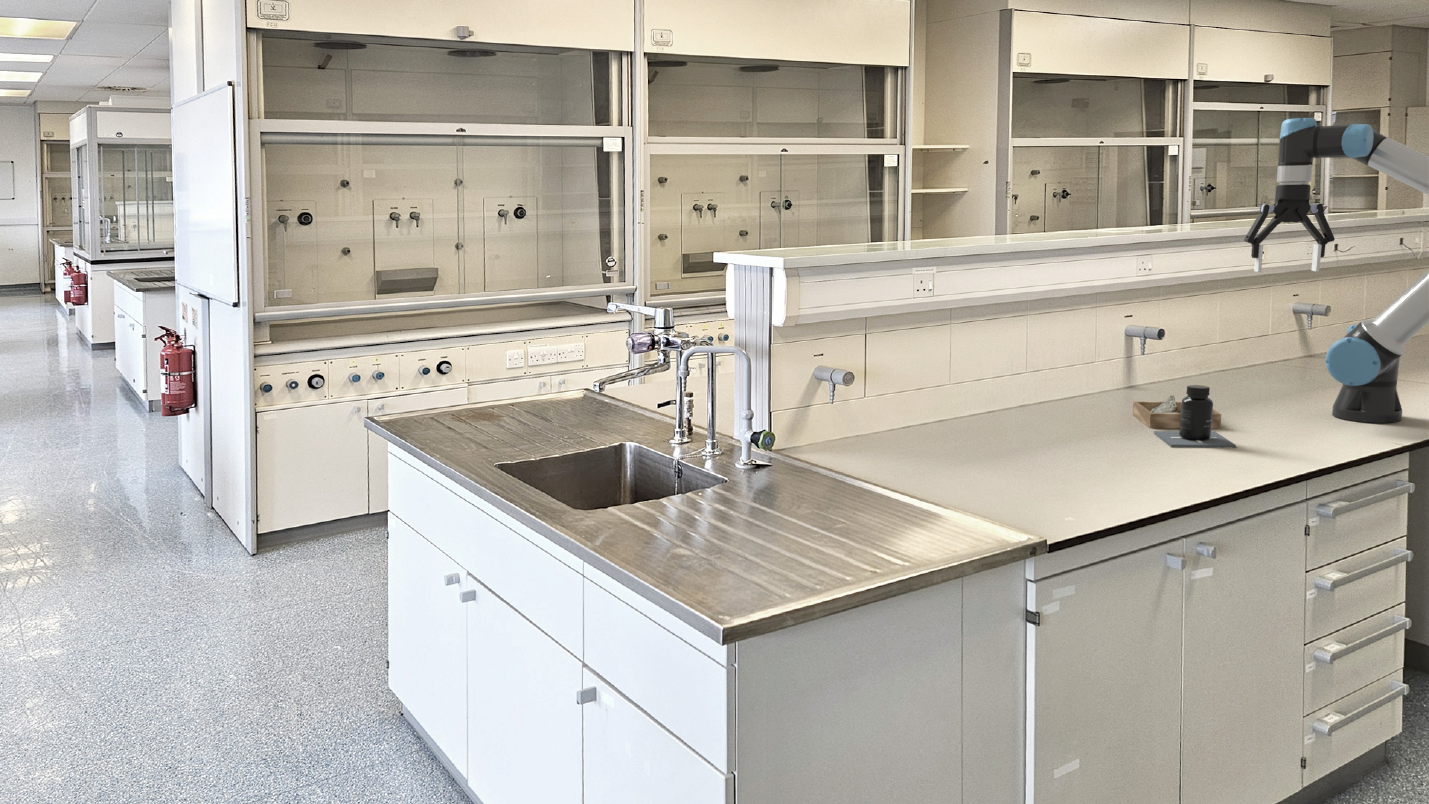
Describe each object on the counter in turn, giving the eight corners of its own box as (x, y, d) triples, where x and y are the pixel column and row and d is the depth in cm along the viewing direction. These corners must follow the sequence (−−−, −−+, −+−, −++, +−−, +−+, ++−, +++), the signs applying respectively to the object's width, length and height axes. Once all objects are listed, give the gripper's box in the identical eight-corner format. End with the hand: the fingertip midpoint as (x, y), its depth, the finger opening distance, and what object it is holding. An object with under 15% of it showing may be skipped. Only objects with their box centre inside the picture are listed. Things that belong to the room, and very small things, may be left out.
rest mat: (1214, 433, 261) (1215, 430, 261) (1235, 447, 248) (1236, 444, 247) (1153, 433, 263) (1153, 430, 263) (1171, 447, 249) (1171, 444, 249)
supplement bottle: (1214, 441, 251) (1217, 389, 249) (1182, 440, 252) (1185, 389, 250) (1207, 434, 258) (1210, 384, 255) (1176, 433, 259) (1179, 383, 257)
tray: (1199, 415, 282) (1200, 401, 281) (1220, 428, 267) (1221, 414, 266) (1132, 414, 284) (1133, 401, 283) (1149, 427, 269) (1150, 413, 268)
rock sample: (1134, 400, 283) (1163, 381, 278) (1154, 417, 285) (1183, 398, 280) (1139, 425, 275) (1169, 405, 270) (1160, 442, 277) (1189, 423, 272)
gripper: (1340, 182, 270) (1332, 269, 274) (1234, 184, 272) (1228, 270, 276) (1354, 182, 262) (1346, 272, 266) (1245, 184, 265) (1239, 273, 269)
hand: (1286, 271), depth 271 cm, fingers open, 13 cm apart
